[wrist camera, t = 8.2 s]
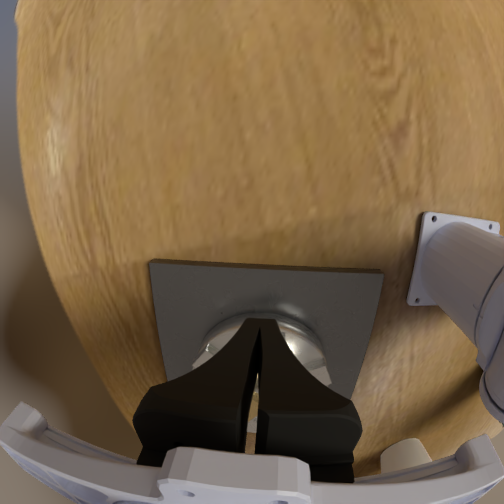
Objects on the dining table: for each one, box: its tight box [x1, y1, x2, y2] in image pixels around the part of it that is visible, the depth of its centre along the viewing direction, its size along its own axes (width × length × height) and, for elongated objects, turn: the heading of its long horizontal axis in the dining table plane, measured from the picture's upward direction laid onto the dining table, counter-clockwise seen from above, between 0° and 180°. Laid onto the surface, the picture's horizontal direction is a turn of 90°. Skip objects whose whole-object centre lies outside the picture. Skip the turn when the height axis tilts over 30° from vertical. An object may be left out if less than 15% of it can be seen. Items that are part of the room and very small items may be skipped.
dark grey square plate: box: [149, 259, 384, 400], centre depth 23 cm, size 18×18×1 cm
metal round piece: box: [192, 313, 332, 433], centre depth 20 cm, size 15×11×7 cm
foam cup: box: [380, 438, 432, 474], centre depth 22 cm, size 10×9×13 cm
